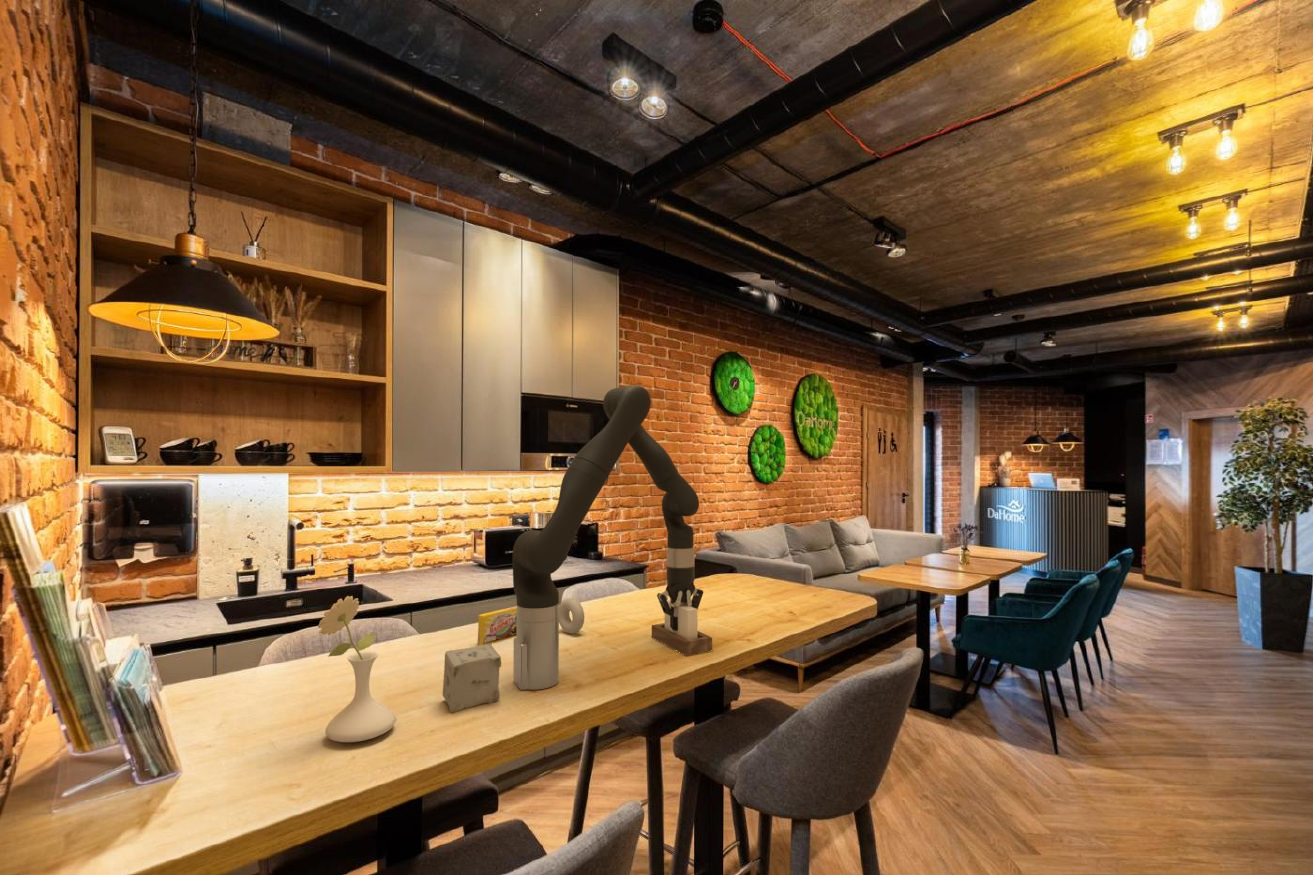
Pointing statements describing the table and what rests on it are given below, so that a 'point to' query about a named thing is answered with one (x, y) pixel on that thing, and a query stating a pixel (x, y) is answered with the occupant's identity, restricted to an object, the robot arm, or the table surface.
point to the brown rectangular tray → (682, 641)
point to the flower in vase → (363, 712)
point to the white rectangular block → (685, 622)
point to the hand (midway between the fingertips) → (680, 628)
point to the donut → (577, 615)
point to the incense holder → (471, 677)
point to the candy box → (497, 626)
